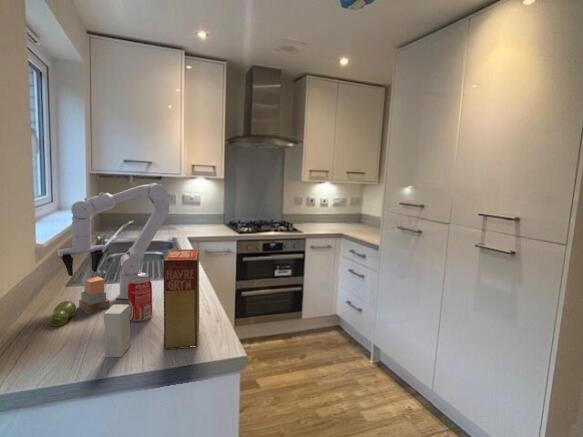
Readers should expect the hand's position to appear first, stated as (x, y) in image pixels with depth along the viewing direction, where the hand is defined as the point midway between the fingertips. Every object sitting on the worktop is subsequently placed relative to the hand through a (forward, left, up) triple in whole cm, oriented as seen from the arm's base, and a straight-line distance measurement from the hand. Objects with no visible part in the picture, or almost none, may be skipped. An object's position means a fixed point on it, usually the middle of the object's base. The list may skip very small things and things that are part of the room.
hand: (82, 273), depth 121 cm
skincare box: (-25, +34, -11) cm, 44 cm away
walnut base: (-6, +5, -11) cm, 13 cm away
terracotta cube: (-6, +5, -5) cm, 9 cm away
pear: (-1, +15, -11) cm, 19 cm away
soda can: (-24, +13, -11) cm, 29 cm away
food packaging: (-40, +26, -11) cm, 49 cm away
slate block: (-6, +5, -8) cm, 11 cm away
